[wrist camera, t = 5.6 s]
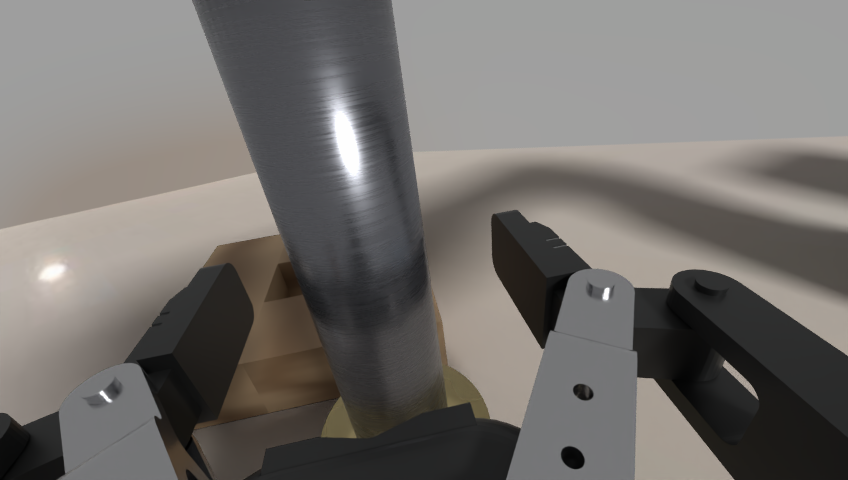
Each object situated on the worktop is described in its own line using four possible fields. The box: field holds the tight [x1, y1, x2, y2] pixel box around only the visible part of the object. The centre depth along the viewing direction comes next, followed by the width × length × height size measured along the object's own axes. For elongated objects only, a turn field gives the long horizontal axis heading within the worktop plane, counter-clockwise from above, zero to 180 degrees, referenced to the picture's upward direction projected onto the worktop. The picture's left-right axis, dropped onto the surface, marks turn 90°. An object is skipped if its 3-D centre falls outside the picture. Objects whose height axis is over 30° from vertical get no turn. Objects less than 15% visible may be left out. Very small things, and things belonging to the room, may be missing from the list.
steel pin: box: [192, 0, 490, 438], centre depth 10 cm, size 6×6×20 cm
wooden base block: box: [194, 235, 448, 430], centre depth 25 cm, size 16×14×4 cm
